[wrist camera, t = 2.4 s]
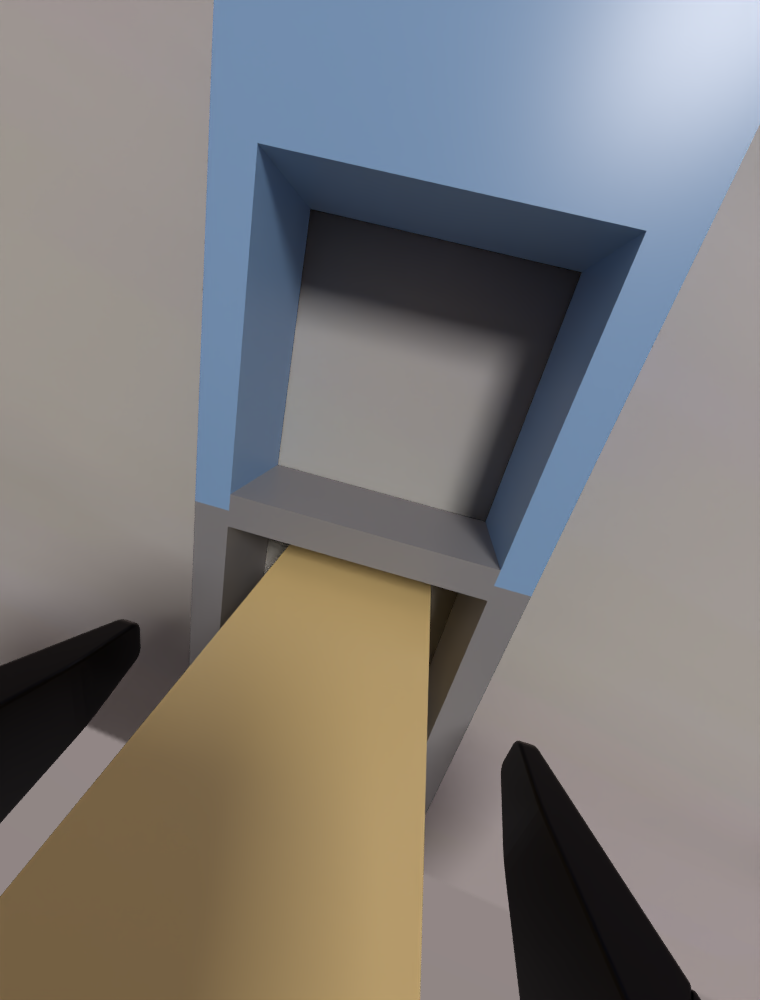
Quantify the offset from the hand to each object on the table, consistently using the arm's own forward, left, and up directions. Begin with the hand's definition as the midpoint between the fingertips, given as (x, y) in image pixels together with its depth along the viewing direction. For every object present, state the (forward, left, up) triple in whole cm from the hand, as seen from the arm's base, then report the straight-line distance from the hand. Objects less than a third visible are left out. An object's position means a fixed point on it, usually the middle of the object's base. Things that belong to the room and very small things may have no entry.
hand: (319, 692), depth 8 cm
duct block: (+2, +3, -3) cm, 5 cm away
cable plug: (0, 0, -4) cm, 4 cm away
